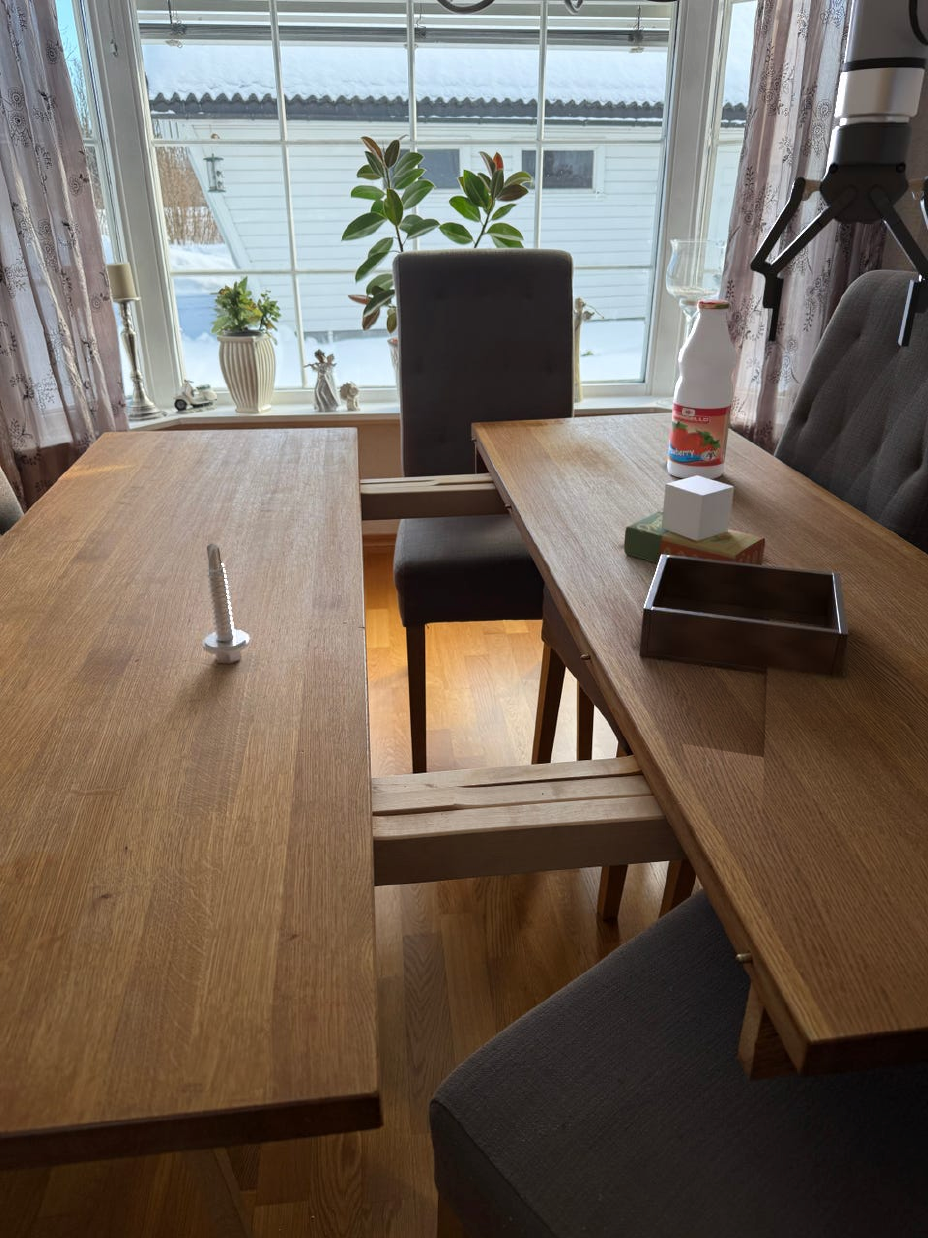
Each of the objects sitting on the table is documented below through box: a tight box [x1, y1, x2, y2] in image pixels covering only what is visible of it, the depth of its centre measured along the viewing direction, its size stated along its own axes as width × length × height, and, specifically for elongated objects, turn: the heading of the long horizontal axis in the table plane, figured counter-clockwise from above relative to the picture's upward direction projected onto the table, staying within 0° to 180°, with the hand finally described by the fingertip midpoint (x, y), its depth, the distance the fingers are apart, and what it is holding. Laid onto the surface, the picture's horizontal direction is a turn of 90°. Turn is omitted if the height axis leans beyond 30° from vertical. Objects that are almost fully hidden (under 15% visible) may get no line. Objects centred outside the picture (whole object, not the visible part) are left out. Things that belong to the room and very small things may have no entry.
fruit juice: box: [666, 298, 737, 480], centre depth 145 cm, size 9×9×28 cm
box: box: [638, 554, 849, 677], centre depth 96 cm, size 20×16×6 cm
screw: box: [201, 542, 251, 665], centre depth 90 cm, size 13×5×5 cm
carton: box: [623, 510, 766, 565], centre depth 116 cm, size 8×16×4 cm, turn 47°
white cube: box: [662, 475, 735, 541], centre depth 113 cm, size 6×6×6 cm
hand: (836, 342), depth 98 cm, fingers open, 13 cm apart
